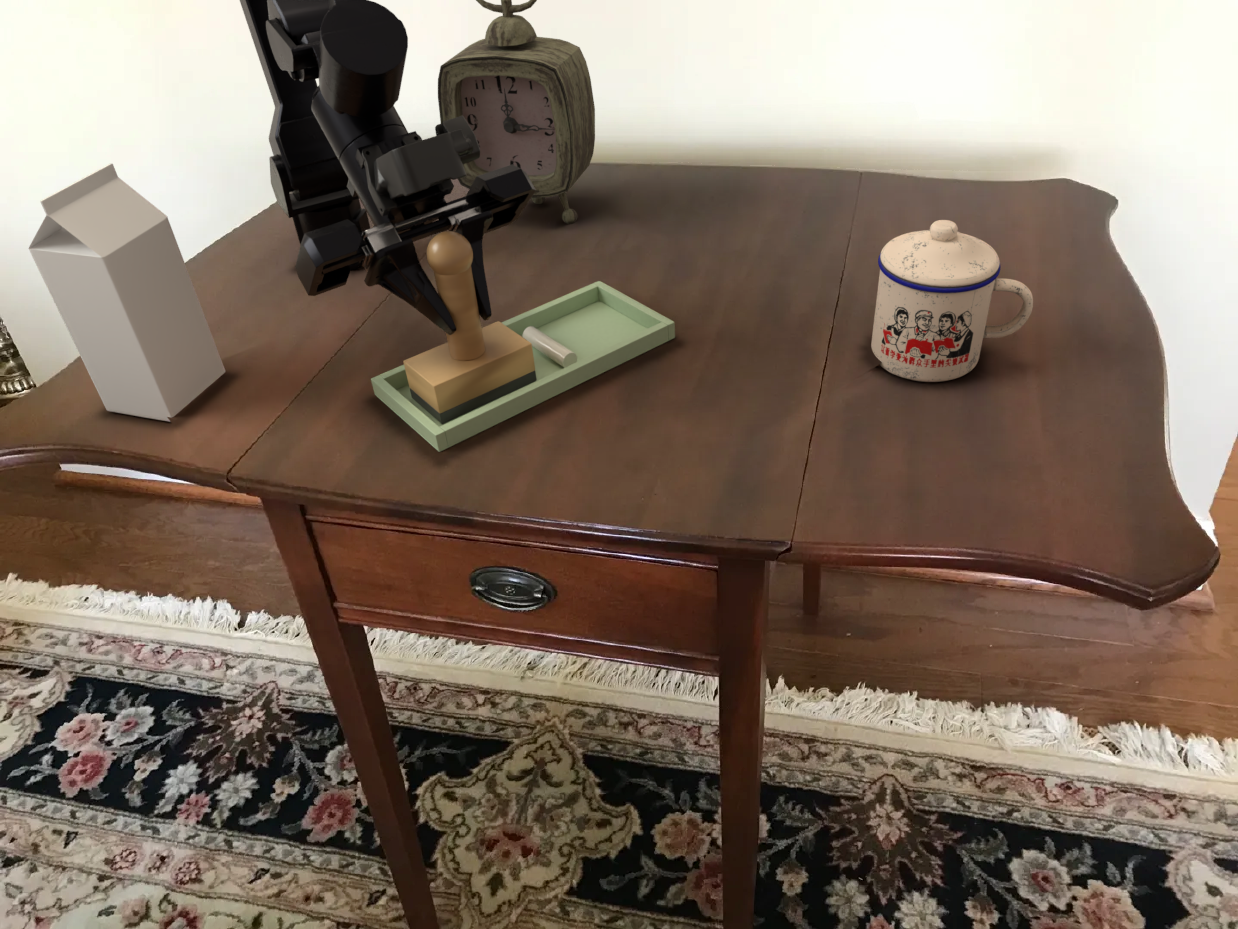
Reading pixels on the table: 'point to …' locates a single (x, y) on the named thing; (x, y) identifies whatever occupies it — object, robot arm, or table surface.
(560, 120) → the tabletop clock
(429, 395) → the wooden rubber stamp
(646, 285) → the table surface
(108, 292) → the milk carton
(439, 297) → the robot arm
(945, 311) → the teacup with lid
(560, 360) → the chalk
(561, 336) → the tray
